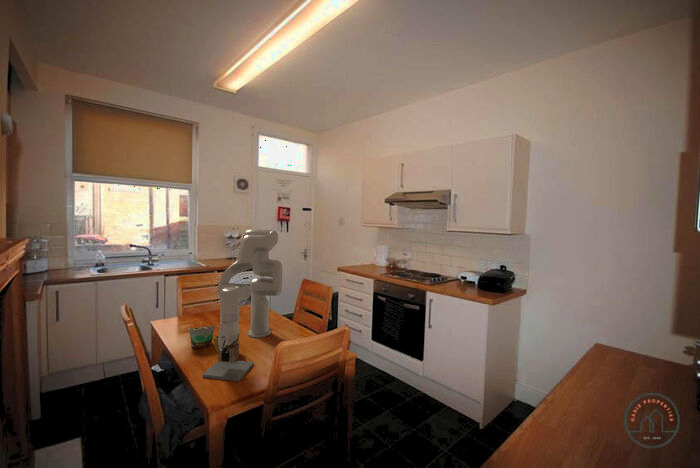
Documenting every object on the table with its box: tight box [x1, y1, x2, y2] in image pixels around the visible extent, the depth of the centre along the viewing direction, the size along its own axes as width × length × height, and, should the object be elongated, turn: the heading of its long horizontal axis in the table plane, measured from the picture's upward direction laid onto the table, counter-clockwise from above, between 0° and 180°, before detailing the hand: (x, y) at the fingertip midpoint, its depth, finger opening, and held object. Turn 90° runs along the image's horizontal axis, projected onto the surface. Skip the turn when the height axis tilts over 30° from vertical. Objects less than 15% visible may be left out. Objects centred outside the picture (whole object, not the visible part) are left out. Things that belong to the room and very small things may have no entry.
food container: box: [187, 324, 216, 350], centre depth 158 cm, size 12×6×10 cm, turn 117°
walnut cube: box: [218, 342, 240, 363], centre depth 136 cm, size 6×6×6 cm
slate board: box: [202, 359, 255, 382], centre depth 137 cm, size 14×16×1 cm
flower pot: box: [213, 332, 240, 355], centre depth 152 cm, size 9×9×9 cm
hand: (229, 357), depth 136 cm, fingers closed on walnut cube, 6 cm apart
